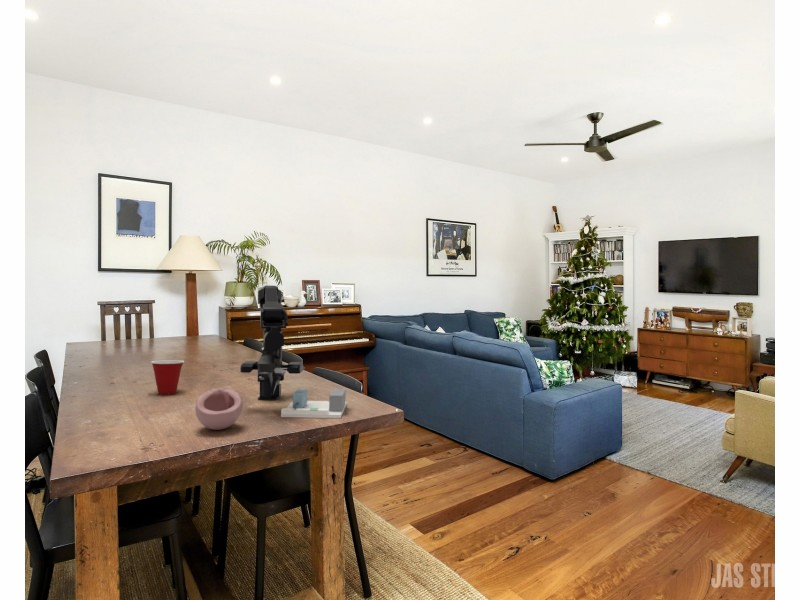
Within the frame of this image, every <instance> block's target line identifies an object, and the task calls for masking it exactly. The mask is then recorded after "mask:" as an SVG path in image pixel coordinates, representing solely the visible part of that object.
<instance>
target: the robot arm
mask: <svg viewBox="0 0 800 600" xmlns="http://www.w3.org/2000/svg"><path fill="white" fill-rule="evenodd" d="M282 293H283V292H282V291H281V290H280V289H279V286H277V285H264V286H263V288H261V289H260V290H258V291H257V304H258V305H259V311H260V315H259V316H260V329H263V338H262V339H263V343H262V345H263V347H262V348H263V349H262V350H261V357H259V359H258V360H257V361H256V360H253V361H252V360H247V361H244V362H243V363H242V364H240V371H239V373H246V374H247V373H248V374H249V373H251V372H252V371H257V374H256V375H257V377H256V378H257V383H259V397H257V400H269V401H270V400H271V401H273V400H275V401H276V400H278V399H279V398H280V397H281V396H282V384H281V383H280V382H283V381H284V380H285V374H286V372H287V373H289V374H301V373H302V372H303V371H304V364H303V362H301V361H290V362H289V363H287V364H284V363H283V360H282V358H283V353H282V352H283V346H284V344H285V336H284V335H283V330H282V329H287V326H289V320H288V319H289V318H288V312H287V310H285V309H284V305H283V303H282V300H283V299H282V298H283V297H282V296H283V295H282Z"/></svg>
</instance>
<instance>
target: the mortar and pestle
mask: <svg viewBox="0 0 800 600" xmlns="http://www.w3.org/2000/svg"><path fill="white" fill-rule="evenodd" d="M194 410H195V415H196V416H195V417H196V418H197V420H198V422H199V423H200V424H201V425H203V427H205V428H206V429H210V430H215V431H216V430H217V431H221V430H224V429H227V428H230V427H231V426H233V425H234V424H235V423H236V422H237V421H239V418H240V416H241V414H242V411H243V399H242V397H241V395H240V394H239V393H238V392H237V391H236V390H234V389H229V388H226V387H220V388H216V387H215V388H213V389H212V388H211V389H208V390H206V391H204V393H202V394H201V395H200V396H199V397H198V398H197V400H196V403H195V409H194Z"/></svg>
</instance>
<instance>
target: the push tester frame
mask: <svg viewBox="0 0 800 600" xmlns="http://www.w3.org/2000/svg"><path fill="white" fill-rule="evenodd" d="M346 390H347V389H346V388H342V389H341V388H333V389H332V391H331V392H330V394H329V395H328V396H329V400H307V404H306V405H305V406H304V407H303V408H297V407H296V408H293V400H292V401H291V402H290V404H289V405H288V406H287V407H282V409H281V410H280V413H281V414H280V417H281V418H310V419H313V418H315V419H316V418H318V419H322V418H323V419H341V418H342V416H343V413H344V411H345V409H346V407H347V405H348V403H347V402H348V401H346V397H347V396H346V395H347V394H346Z"/></svg>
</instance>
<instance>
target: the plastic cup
mask: <svg viewBox="0 0 800 600" xmlns="http://www.w3.org/2000/svg"><path fill="white" fill-rule="evenodd" d="M150 363H151V365H152V368H153V372H154V373H153V374H154V379H155V384H156V389H157V393H158V395H160V396H170V395H174V394H176V393H177V391H178V385H179V381H180V376H181V371H182V367H183V365H184V363H185V360H178V359H163V360H152V361H150Z"/></svg>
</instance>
